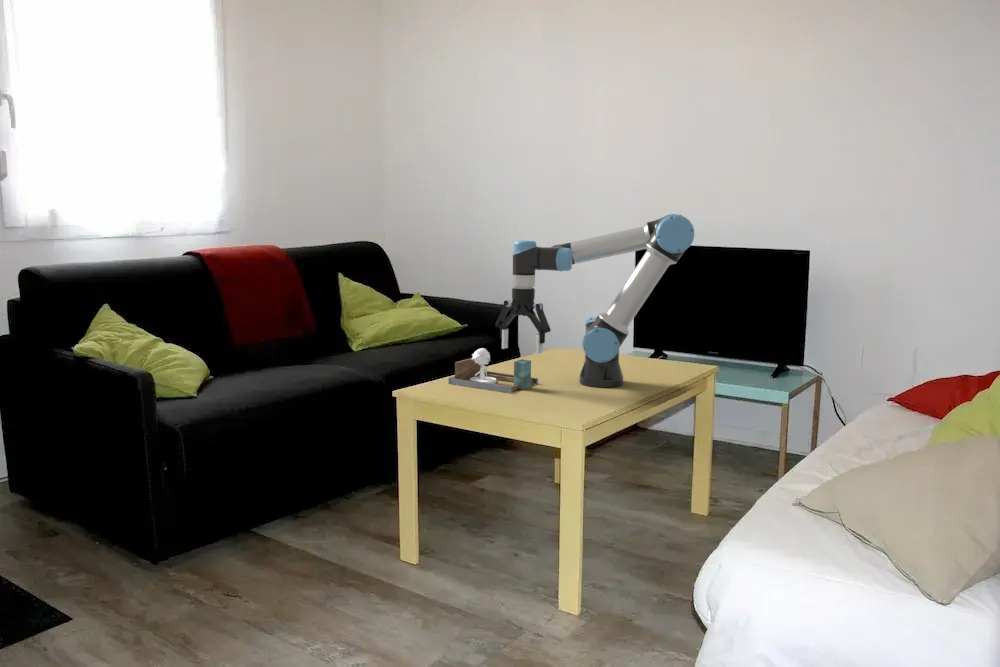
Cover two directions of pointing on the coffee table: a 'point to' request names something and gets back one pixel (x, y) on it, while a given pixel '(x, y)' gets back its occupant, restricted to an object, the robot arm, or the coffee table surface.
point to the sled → (520, 379)
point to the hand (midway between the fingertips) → (521, 350)
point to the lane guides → (486, 385)
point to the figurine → (482, 366)
